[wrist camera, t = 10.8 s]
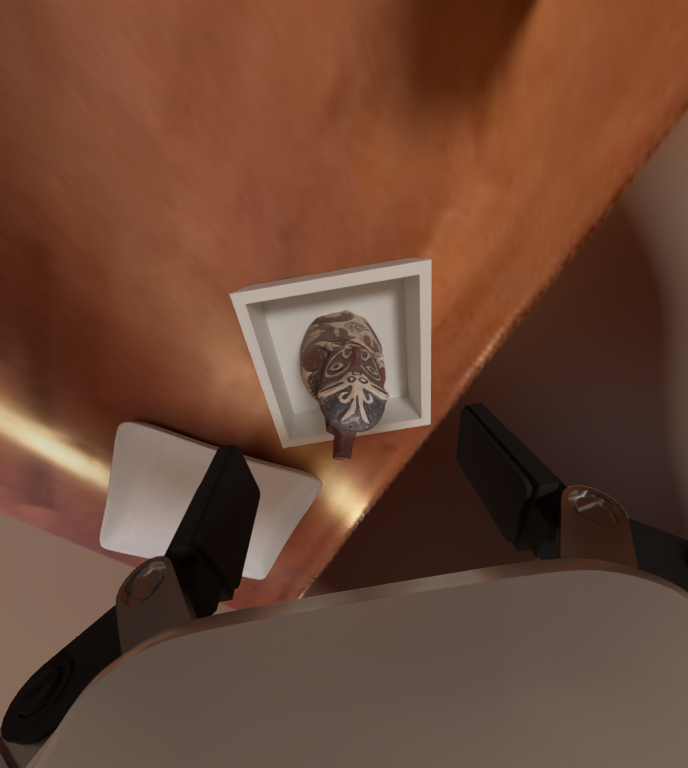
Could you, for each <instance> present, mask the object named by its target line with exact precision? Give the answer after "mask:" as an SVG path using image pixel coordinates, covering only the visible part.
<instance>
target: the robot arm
mask: <svg viewBox="0 0 688 768" xmlns="http://www.w3.org/2000/svg"><path fill="white" fill-rule="evenodd" d="M457 461H458V463H459V465H460V467H461V469H462V470H463V472H464V473H465V475H466V477H467V478H468V480H469V481H470V483H471V484H472V486H473V488H474V489H475V491H476V493H477V494H478V496H479V498H480V499H481V501H482V502H483V504H484V506H485V507H486V509H487V510H488V512H489V514H490V515H491V517H492V519H493V520H494V522H495V523H496V525H497V527H498V528H499V530H500V531H501V533H502V535H503V536H504V537H505V539H506V540H507V541H508V542H509V543H510V542H512V543H513V545H514V546H515V548H516V549H517V551H525V550H531V551H532V552H533V554H534V555H535V556H536V557H537V558H538V560H537V561H531V562H523V563H516V564H509V565H502V566H495V567H488V568H482V569H476V570H470V571H464V572H458V573H452V574H445V575H439V576H434V577H427V578H422V579H415V580H409V581H403V582H397V583H391V584H385V585H379V586H373V587H367V588H361V589H355V590H349V591H344V592H338V593H332V594H326V595H320V596H314V597H309V598H303V599H297V600H291V601H286V602H280V603H274V604H268V605H263V606H257V607H252V608H247V609H242V610H237V611H232V612H227V613H221V614H216V610H217V606H218V603H219V602H222V601H228V600H232V599H233V594H234V590H235V589H237V588H238V587H239V585H240V582H241V578H242V573H243V569H244V565H245V560H246V556H247V552H248V548H249V543H250V539H251V535H252V531H253V526H254V522H255V518H256V513H257V509H258V505H259V501H260V490H259V487H258V485H257V483H256V481H255V479H254V477H253V475H252V472H251V470H250V468H249V466H248V464H247V462H246V460H245V458H244V456H243V454H242V451H241V449H240V448H236V447H235V446H234V445H231V446H225V447H220V448H218V450H217V451H216V453H215V455H214V457H213V459H212V461H211V463H210V466H209V468H208V470H207V472H206V474H205V476H204V478H203V480H202V482H201V484H200V485H199V487H198V488H197V490H196V492H195V494H194V496H193V498H192V500H191V502H190V504H189V506H188V508H187V510H186V512H185V514H184V516H183V518H182V520H181V523H180V525H179V527H178V529H177V531H176V533H175V535H174V537H173V539H172V541H171V543H170V545H169V547H168V549H167V551H166V553H165V555H164V556H156V557H154V558H151V559H149V560H147V561H145V562H144V563H142V564H141V565H139V566H138V567H137V568H136V569H135V570H133V572H132V573H131V574H130V575H129V576H128V577H127V578H126V579H125V581H124V582H123V584H122V586H121V587H120V589H119V591H118V594H117V596H116V605H115V606H114V607H112V608H111V609H110V610H109V611H108V612H106V613H105V614H104V615H103V616H102V617H101V618H99V619H98V620H97V621H96V622H94V623H93V624H92V625H91V626H90V627H88V628H87V629H86V630H85V631H84V632H82V633H81V634H80V635H79V636H78V637H76V638H75V639H74V640H73V641H72V642H70V643H69V644H68V645H67V646H66V647H64V648H63V649H62V650H61V651H60V652H58V653H57V654H56V655H55V656H54V657H53V658H51V659H50V660H49V661H48V662H46V663H45V664H44V665H43V666H42V667H41V668H40V669H39V670H38V671H36V672H35V673H34V674H33V675H32V676H31V677H30V678H29V680H28V681H27V682H26V683H25V685H24V686H23V687H22V688H21V689H20V690H19V692H18V693H17V695H16V696H15V698H14V700H13V701H12V702H11V704H10V706H9V708H8V710H7V712H6V714H5V716H4V718H3V723H2V726H1V728H0V768H688V540H685V539H683V538H680V537H677V536H675V535H672V534H670V533H667V532H664V531H662V530H659V529H656V528H654V527H651V526H649V525H646V524H643V523H640V522H638V521H635V520H633V519H630V518H628V516H627V514H626V511H625V510H624V509H623V508H622V506H621V505H620V504H619V503H618V502H616V501H615V500H614V499H613V498H611V497H610V496H608V495H606V494H604V493H603V492H601V491H598V490H595V489H593V488H589V487H585V486H571V487H566V486H565V485H564V484H563V483H562V482H561V481H560V480H559V479H558V478H557V477H556V476H555V475H554V474H553V473H552V472H551V471H550V470H549V469H548V468H547V467H546V466H545V465H544V464H543V463H542V462H541V461H540V460H539V459H538V458H537V457H536V456H535V455H534V454H533V453H532V452H531V451H530V450H529V449H528V448H527V447H526V446H525V445H524V444H523V443H522V442H521V441H520V440H519V439H518V438H517V437H516V436H515V435H514V434H513V433H512V432H510V431H509V430H508V429H506V428H505V427H504V426H503V424H502V423H501V422H500V421H499V420H498V419H497V418H496V417H495V416H494V415H493V414H492V413H491V412H490V411H489V410H488V409H487V408H486V407H485V406H484V405H483V404H481V403H477V404H471V405H466V406H465V408H464V409H463V410H461V414H460V425H459V435H458V446H457Z"/></svg>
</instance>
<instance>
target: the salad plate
mask: <svg viewBox="0 0 688 768" xmlns="http://www.w3.org/2000/svg"><path fill="white" fill-rule="evenodd" d="M218 448H220V447H217V446H213V445H210V444H207V443H204V442H201V441H198V440H195V439H193V438H190V437H187V436H184V435H181V434H178V433H175V432H172V431H170V430H167V429H164V428H161V427H158V426H155V425H152V424H148V423H144V422H136V421H132V422H123V423H121V424H120V425H119V426H118V428H117V432H116V437H115V443H114V450H113V458H112V467H111V474H110V481H109V488H108V495H107V502H106V507H105V512H104V518H103V522H102V527H101V532H100V544H101V546H102V547H103V548H104V549H108V550H112V551H116V552H121V553H125V554H130V555H135V556H140V557H144V558H149V559H151V558H154V557H156V556H164V555H165V553H166V551H167V549H168V547H169V545H170V543H171V541H172V539H173V537H174V535H175V533H176V531H177V529H178V527H179V525H180V523H181V520H182V518H183V516H184V514H185V512H186V510H187V508H188V506H189V504H190V502H191V500H192V498H193V496H194V494H195V492H196V490H197V488H198V487H199V485H200V484H201V482H202V480H203V478H204V476H205V474H206V472H207V470H208V468H209V466H210V463H211V461H212V459H213V457H214V455H215V453H216V451H217V450H218ZM243 456H244V458H245V460H246V462H247V464H248V466H249V468H250V470H251V472H252V475H253V477H254V479H255V481H256V483H257V485H258V487H259V490H260V501H259V505H258V509H257V513H256V518H255V522H254V526H253V531H252V535H251V539H250V543H249V548H248V552H247V556H246V560H245V565H244V569H243V573H242V576H243V577H248V578H253V579H263V578H265V577H266V575H267V574H268V572H269V571H270V569H271V567H272V566H273V564H274V562H275V561H276V559H277V557H278V555H279V554H280V552H281V550H282V549H283V547H284V545H285V544H286V542H287V540H288V539H289V537H290V536H291V534H292V532H293V531H294V529H295V528H296V526H297V524H298V523H299V521H300V520H301V519H302V517H303V516H304V514H305V513H306V512H307V510H308V509H309V507H310V506H311V504H312V503H313V501H314V500H315V498H316V496H317V495H318V493H319V491H320V490H321V487H322V482H321V481H320V480H319V479H318V478H317V477H316V476H314V475H313V474H310V473H308V472H305V471H301V470H298V469H294V468H290V467H286V466H282V465H278V464H274V463H270V462H267V461H263V460H260V459H256V458H253V457H249V456H246V455H243Z"/></svg>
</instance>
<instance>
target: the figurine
mask: <svg viewBox="0 0 688 768" xmlns="http://www.w3.org/2000/svg"><path fill="white" fill-rule="evenodd" d="M383 359H384V356H383V355H382V346H381V343H380V341H379V339H378V337H377V336H376V334H375V332H374V330H373V329H372V327H371V325H370V324H369V323H368V321H367V320H366V318H364V317H362V316H358V315H356V314H354V313H352V312H350V311H347V310H344V311H340V312H335V313H330V314H327V315H323V316H321V317H317V318H316V319H315V320H314V321H313V322H312V323H311V324H310V325H309V327H308V329H307V331H306V333H305V335H304V338H303V341H302V344H301V349H300V371H301V375H302V379H303V383H304V385H305V387H306V389H307V391H308V393H309V394H310V395H311V396H312V397H313V398H314V399H315V400H316V401H317V402H318V403H319V405H320V408H321V411H322V413H323V415H324V417H325V425H326V431H327V432H328V433H330V434H332V435H334V445H333V459H335V460H350V459H351V453H352V447H353V442H354V439H355V436H356V434H357V432H364V431H368V430H370V429H372V428H373V427H374V426H375V425H376V424H377V423H378V422H379V421H380V419H381V418H382V415H383V413H384V410H385V404H386V402H387V400H388V398H389V392H387V391H386V390H385V389H384V384H385V380H386V373H385V366H384V361H383Z"/></svg>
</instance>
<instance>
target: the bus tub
mask: <svg viewBox="0 0 688 768" xmlns="http://www.w3.org/2000/svg"><path fill="white" fill-rule="evenodd" d="M230 297H231V299H232V302H233V305H234V308H235V311H236V314H237V317H238V320H239V323H240V326H241V328H242V331H243V334H244V337H245V340H246V343H247V346H248V349H249V352H250V355H251V357H252V360H253V363H254V366H255V369H256V372H257V375H258V378H259V381H260V384H261V386H262V389H263V392H264V395H265V398H266V401H267V404H268V407H269V410H270V413H271V415H272V418H273V421H274V424H275V427H276V430H277V433H278V436H279V439H280V442H281V444H282V447H283V448H288V447H294V446H301V445H307V444H313V443H319V442H325V441H331V440H334V435H332V434H330V433H328V432H327V431H326V425H325V417H324V415H323V413H322V411H321V408H320V405H319V403H318V402H317V401H316V400H315V399H314V398H313V397H312V396H311V395H310V394H309V393H308V391H307V389H306V387H305V385H304V383H303V379H302V375H301V371H300V349H301V344H302V341H303V338H304V335H305V333H306V331H307V329H308V327H309V325H310V324H311V323H312V322H313V321H314V320H315V319H316V318H317V317H321V316H323V315H327V314H330V313H335V312H340V311H344V310H347V311H350V312H352V313H354V314H356V315H358V316H362V317H364V318H366V320H367V321H368V323H369V324H370V325H371V327H372V329H373V330H374V332H375V334H376V336H377V337H378V339H379V341H380V343H381V346H382V355H383V356H384V359H383V361H384V366H385V373H386V380H385V384H384V389H385V390H386V391H387V392H389V398H388V400H387V402H386V404H385V410H384V413H383V415H382V418H381V419H380V421H379V422H378V423H377V424H376V425H375V426H374V427H373V428H372V429H370V430H368V431H364V432H357V434H356V436H362V435H368V434H374V433H380V432H386V431H392V430H398V429H404V428H411V427H417V426H423V425H429V424H431V259H420V258H405V259H399V260H393V261H387V262H382V263H376V264H370V265H364V266H358V267H353V268H347V269H341V270H335V271H329V272H324V273H318V274H312V275H306V276H300V277H295V278H289V279H283V280H277V281H271V282H266V283H260V284H254V285H249V286H247V287H244V288H242V289H240V290H238V291H235V292H233V293H231V294H230ZM356 436H355V437H356Z"/></svg>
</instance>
